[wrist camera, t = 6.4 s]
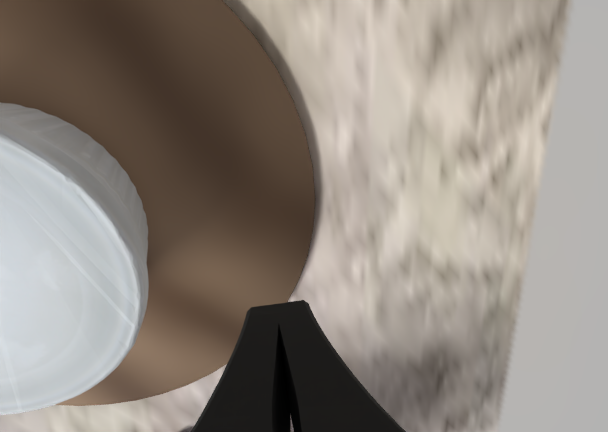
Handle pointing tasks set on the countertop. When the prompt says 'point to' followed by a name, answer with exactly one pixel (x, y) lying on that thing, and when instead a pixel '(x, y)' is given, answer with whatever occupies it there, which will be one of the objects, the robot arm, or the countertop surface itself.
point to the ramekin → (64, 261)
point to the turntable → (177, 163)
